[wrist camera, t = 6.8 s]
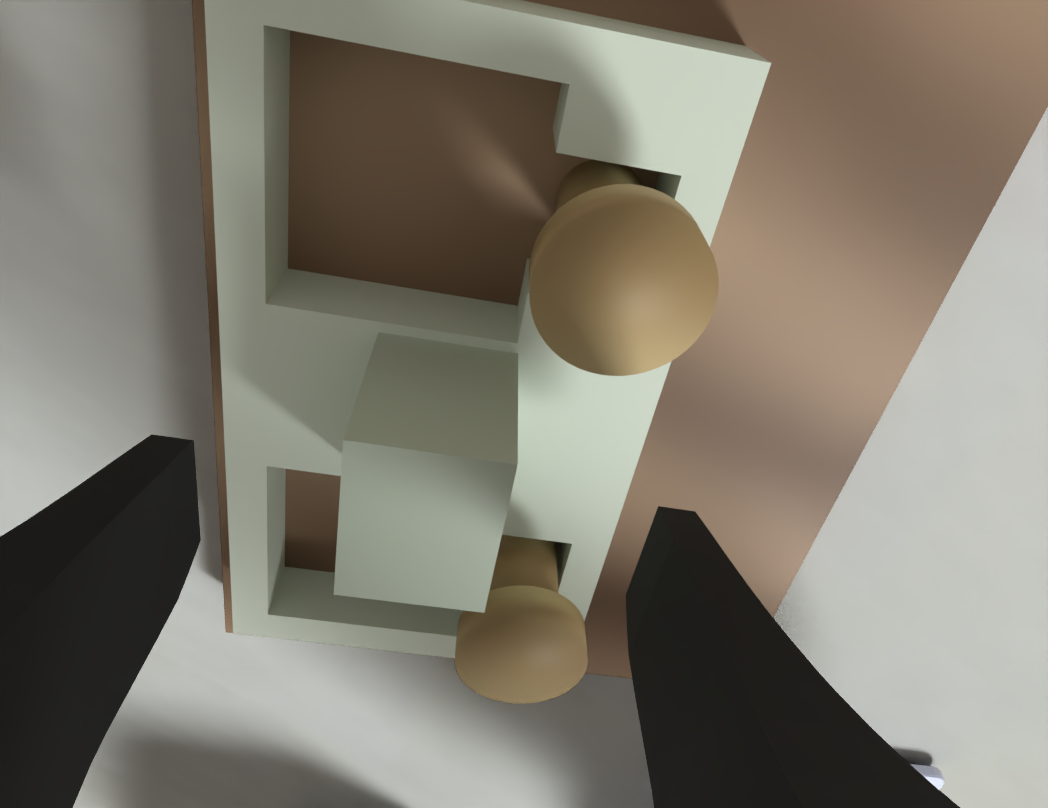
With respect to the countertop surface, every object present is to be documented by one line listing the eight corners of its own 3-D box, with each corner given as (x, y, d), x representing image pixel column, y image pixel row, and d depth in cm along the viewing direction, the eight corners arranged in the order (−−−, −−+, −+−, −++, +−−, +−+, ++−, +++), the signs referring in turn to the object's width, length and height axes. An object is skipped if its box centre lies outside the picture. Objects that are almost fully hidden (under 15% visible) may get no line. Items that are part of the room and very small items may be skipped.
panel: (564, 622, 20) (575, 800, 16) (251, 584, 19) (182, 762, 15) (746, 45, 12) (851, 115, 8) (236, -58, 11) (87, -34, 8)
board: (724, 654, 22) (771, 826, 18) (239, 597, 21) (170, 770, 17) (1074, -38, 13) (1346, -6, 8) (209, -235, 11) (25, -310, 7)
